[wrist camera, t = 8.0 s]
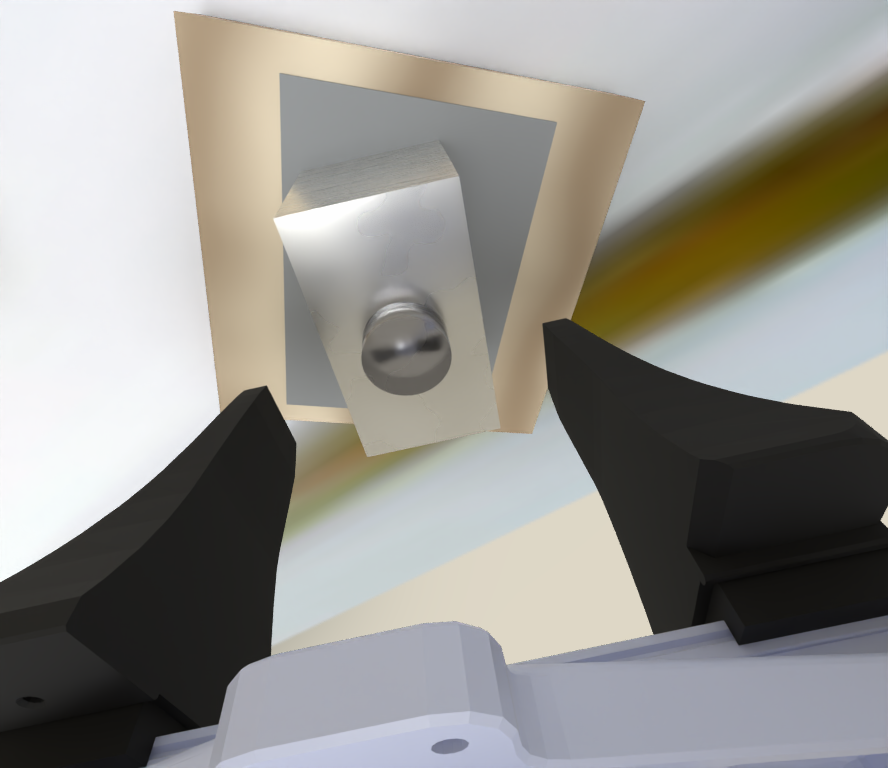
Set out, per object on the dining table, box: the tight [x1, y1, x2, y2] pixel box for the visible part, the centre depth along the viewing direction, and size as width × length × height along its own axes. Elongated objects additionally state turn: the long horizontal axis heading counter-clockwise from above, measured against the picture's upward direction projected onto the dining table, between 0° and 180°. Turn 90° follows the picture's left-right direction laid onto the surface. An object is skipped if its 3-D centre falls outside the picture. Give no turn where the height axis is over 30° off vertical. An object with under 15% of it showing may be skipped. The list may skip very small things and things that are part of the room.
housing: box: [273, 140, 500, 457], centre depth 16 cm, size 4×8×6 cm, turn 11°
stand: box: [174, 11, 645, 434], centre depth 19 cm, size 14×14×3 cm
